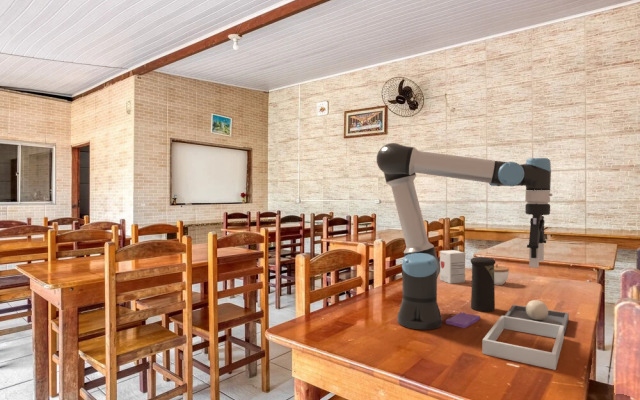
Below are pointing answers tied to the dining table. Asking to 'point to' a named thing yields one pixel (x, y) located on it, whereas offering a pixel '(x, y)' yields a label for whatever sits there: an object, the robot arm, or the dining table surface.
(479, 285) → the container
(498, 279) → the lidded jar
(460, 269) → the supplement box
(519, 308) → the slate tray
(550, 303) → the dining table surface
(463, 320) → the sponges
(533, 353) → the light grey rectangular frame
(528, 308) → the cream round ball
